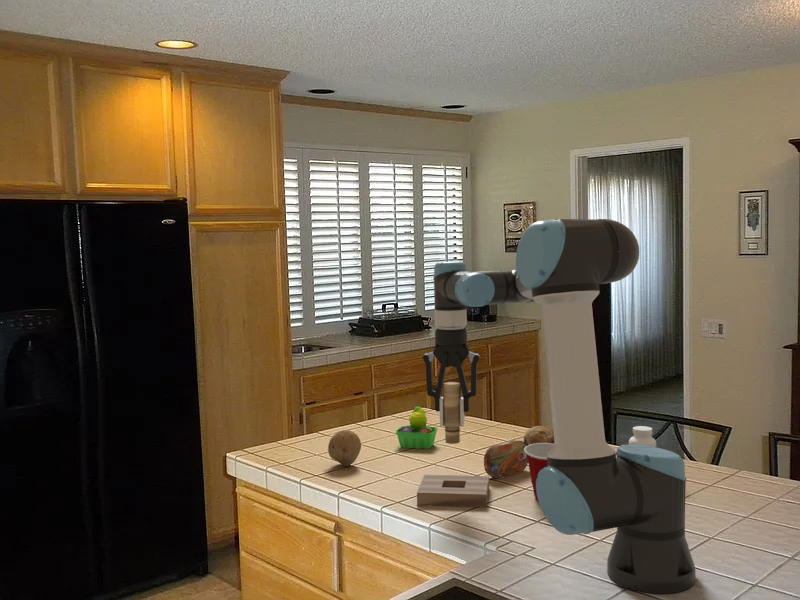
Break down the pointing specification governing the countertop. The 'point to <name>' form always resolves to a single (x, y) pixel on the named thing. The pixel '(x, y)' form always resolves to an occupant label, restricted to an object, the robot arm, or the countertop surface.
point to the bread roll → (539, 435)
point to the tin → (505, 459)
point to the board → (453, 490)
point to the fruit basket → (417, 431)
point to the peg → (451, 411)
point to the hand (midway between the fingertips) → (452, 424)
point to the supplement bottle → (642, 436)
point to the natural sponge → (344, 447)
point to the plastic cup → (537, 460)
